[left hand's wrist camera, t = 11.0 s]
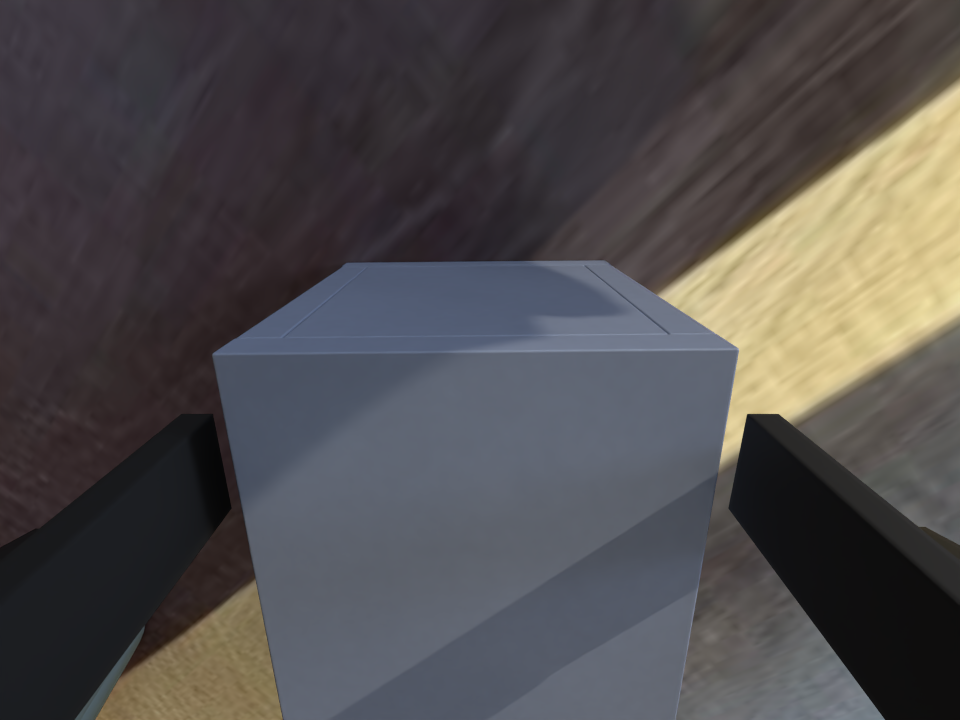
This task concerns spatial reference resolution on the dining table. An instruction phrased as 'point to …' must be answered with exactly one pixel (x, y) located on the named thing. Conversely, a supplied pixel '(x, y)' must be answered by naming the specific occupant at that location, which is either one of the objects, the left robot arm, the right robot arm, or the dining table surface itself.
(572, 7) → the dining table surface
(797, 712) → the dining table surface
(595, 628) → the cabinet
